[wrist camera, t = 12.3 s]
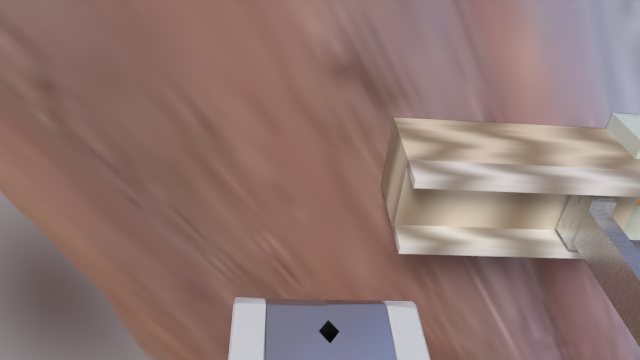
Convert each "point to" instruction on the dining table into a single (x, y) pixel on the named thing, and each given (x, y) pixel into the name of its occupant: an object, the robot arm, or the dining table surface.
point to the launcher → (498, 185)
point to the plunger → (605, 253)
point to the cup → (636, 138)
